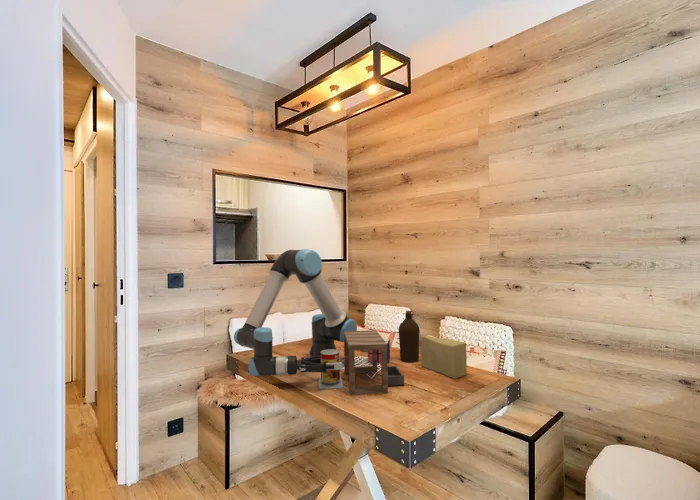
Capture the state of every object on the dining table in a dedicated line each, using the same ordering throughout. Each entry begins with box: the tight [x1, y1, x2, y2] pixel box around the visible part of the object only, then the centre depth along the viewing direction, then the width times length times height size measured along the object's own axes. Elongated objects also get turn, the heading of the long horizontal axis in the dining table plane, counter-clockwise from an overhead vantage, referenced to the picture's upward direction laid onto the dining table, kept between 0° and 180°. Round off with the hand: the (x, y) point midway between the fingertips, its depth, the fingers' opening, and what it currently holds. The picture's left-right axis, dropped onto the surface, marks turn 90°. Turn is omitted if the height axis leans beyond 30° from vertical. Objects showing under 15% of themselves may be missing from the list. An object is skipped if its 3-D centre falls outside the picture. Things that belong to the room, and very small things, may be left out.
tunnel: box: [343, 329, 389, 396], centre depth 158 cm, size 27×15×19 cm, turn 5°
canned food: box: [320, 349, 341, 383], centre depth 157 cm, size 8×8×12 cm
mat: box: [318, 376, 344, 390], centre depth 157 cm, size 12×10×1 cm
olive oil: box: [398, 310, 420, 363], centre depth 190 cm, size 11×11×25 cm
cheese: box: [420, 335, 468, 380], centre depth 171 cm, size 22×10×15 cm, turn 38°
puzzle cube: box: [367, 338, 391, 364], centre depth 190 cm, size 10×10×10 cm
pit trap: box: [380, 365, 405, 388], centre depth 160 cm, size 14×7×4 cm, turn 5°
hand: (341, 363), depth 158 cm, fingers closed on canned food, 8 cm apart
